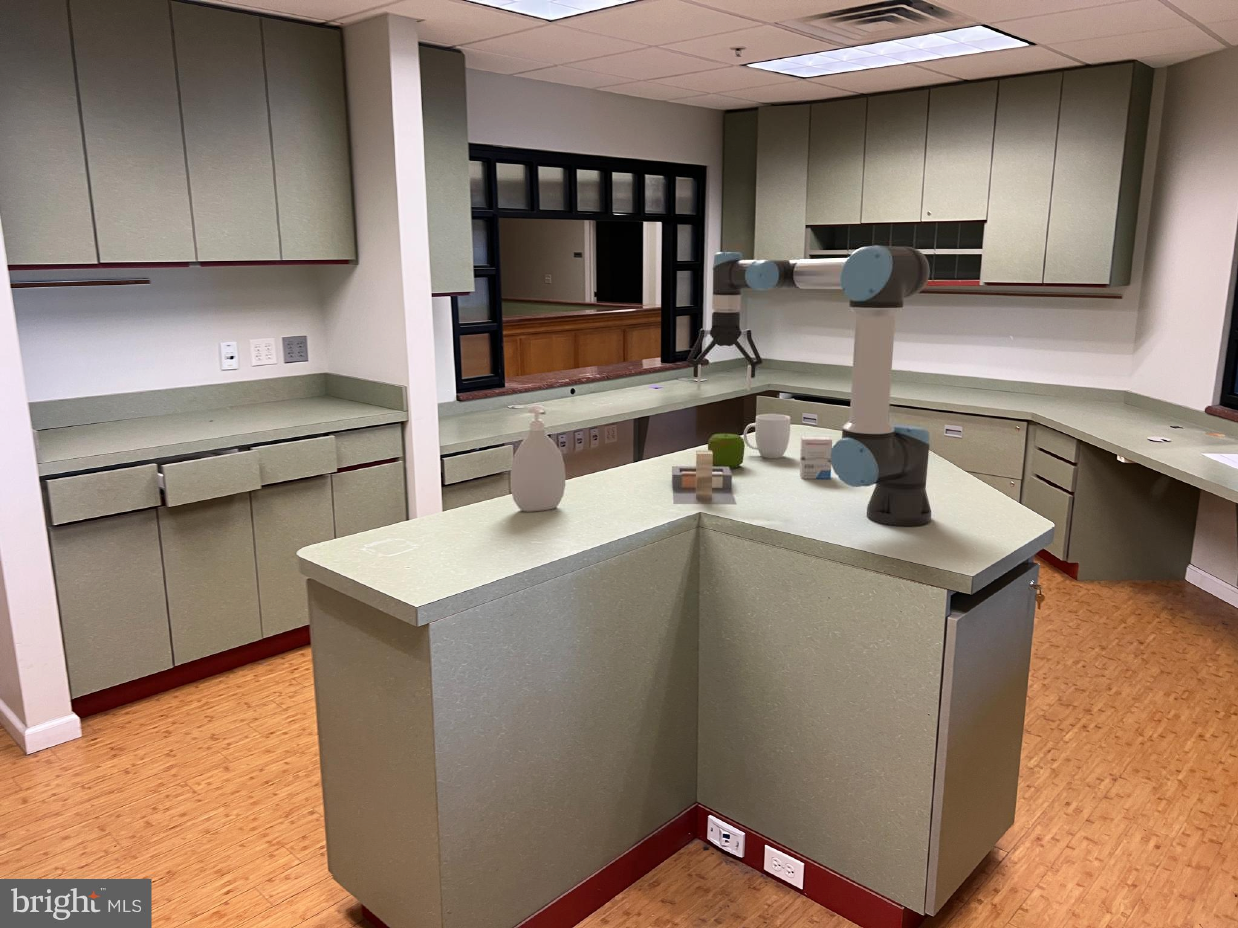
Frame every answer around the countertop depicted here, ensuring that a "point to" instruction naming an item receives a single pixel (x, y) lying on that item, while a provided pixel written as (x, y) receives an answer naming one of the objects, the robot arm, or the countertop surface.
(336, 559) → the countertop surface
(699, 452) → the birch plug
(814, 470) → the ink box
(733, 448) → the apple
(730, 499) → the socket station
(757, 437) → the mug
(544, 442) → the soap bottle
